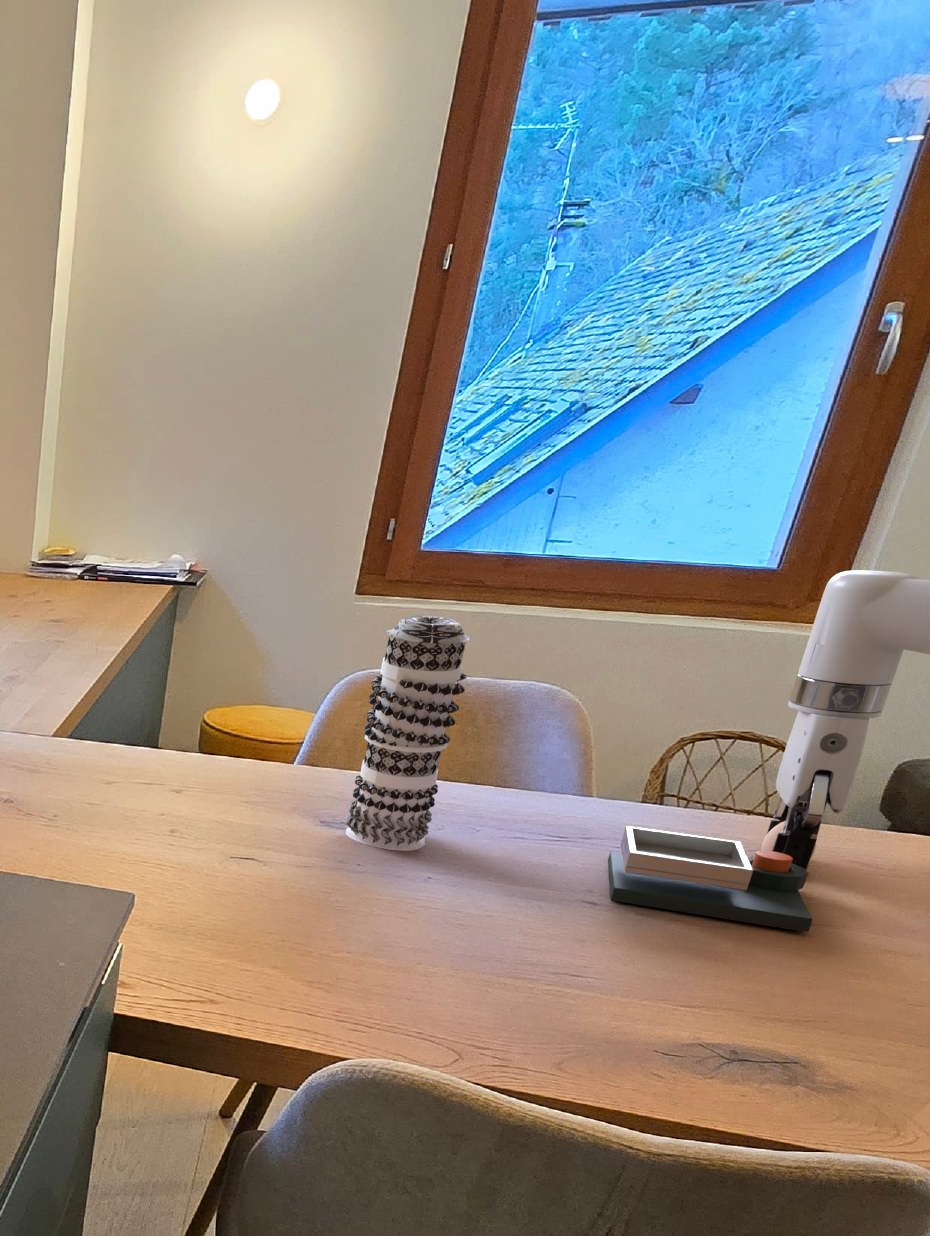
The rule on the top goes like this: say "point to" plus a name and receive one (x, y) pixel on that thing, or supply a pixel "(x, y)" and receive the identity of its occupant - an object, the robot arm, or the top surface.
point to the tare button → (772, 861)
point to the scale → (719, 895)
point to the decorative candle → (407, 733)
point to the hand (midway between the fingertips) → (782, 862)
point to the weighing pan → (686, 857)
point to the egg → (774, 838)
